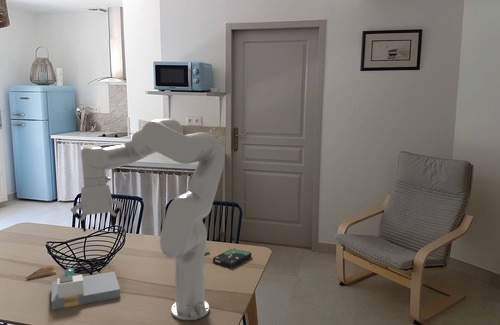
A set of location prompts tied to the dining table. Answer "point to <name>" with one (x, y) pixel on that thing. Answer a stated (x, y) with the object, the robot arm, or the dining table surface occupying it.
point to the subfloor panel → (89, 291)
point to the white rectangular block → (70, 286)
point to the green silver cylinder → (69, 272)
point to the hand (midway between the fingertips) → (98, 228)
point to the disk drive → (232, 258)
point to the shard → (42, 272)
